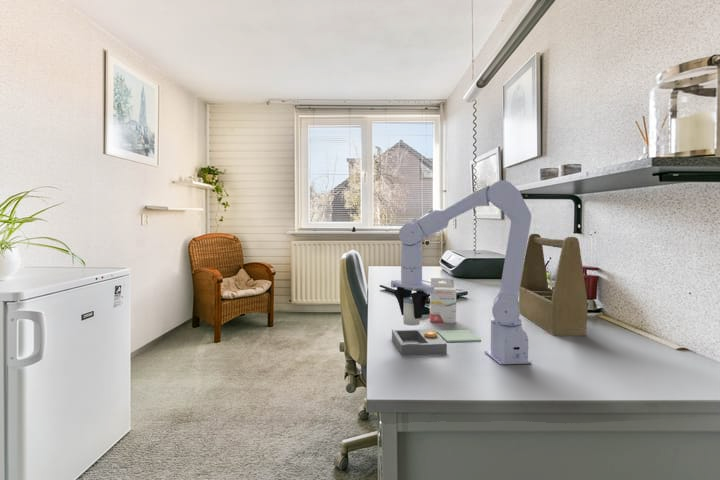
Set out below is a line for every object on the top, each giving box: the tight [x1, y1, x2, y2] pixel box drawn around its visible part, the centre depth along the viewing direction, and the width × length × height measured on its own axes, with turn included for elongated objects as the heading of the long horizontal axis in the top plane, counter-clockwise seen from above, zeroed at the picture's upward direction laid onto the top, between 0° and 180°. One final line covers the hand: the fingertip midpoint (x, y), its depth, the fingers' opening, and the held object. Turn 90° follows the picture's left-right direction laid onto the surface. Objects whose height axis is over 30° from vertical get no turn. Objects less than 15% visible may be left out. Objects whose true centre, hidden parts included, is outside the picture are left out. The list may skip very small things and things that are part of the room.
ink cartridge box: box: [429, 277, 457, 324], centre depth 132 cm, size 9×5×15 cm, turn 84°
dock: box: [391, 328, 448, 356], centre depth 106 cm, size 14×12×2 cm
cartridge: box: [402, 296, 421, 327], centre depth 106 cm, size 4×4×7 cm
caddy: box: [518, 233, 589, 337], centre depth 129 cm, size 29×11×30 cm, turn 176°
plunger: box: [424, 331, 438, 338], centre depth 106 cm, size 4×4×3 cm
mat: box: [436, 329, 482, 343], centre depth 114 cm, size 10×10×1 cm
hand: (411, 316), depth 106 cm, fingers closed on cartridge, 4 cm apart
